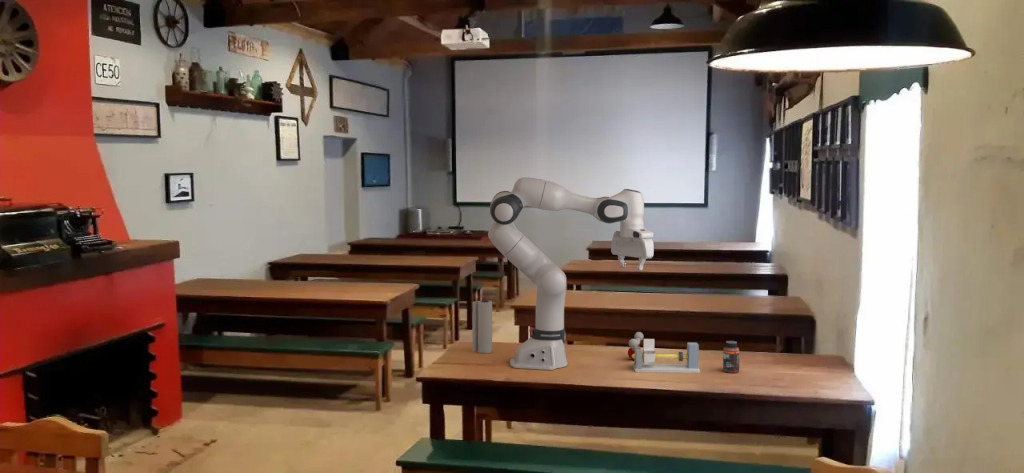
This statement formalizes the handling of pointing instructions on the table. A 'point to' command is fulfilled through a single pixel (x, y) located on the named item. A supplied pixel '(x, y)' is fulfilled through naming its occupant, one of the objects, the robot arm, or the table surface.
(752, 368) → the table surface
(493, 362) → the table surface
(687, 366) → the cord rig
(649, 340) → the marker sleeve
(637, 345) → the molecular model
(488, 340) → the grey grooved column
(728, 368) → the supplement bottle
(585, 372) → the table surface
